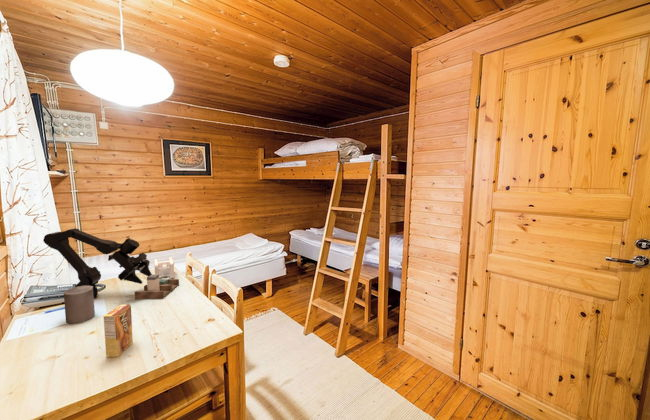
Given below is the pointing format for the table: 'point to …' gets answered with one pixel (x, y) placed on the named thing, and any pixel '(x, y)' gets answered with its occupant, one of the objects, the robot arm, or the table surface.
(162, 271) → the cable organizer
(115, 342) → the candy box
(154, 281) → the tan lidded canister
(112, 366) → the table surface
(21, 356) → the table surface
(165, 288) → the brown compartment tray
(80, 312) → the pillar candle
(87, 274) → the robot arm
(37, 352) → the table surface
